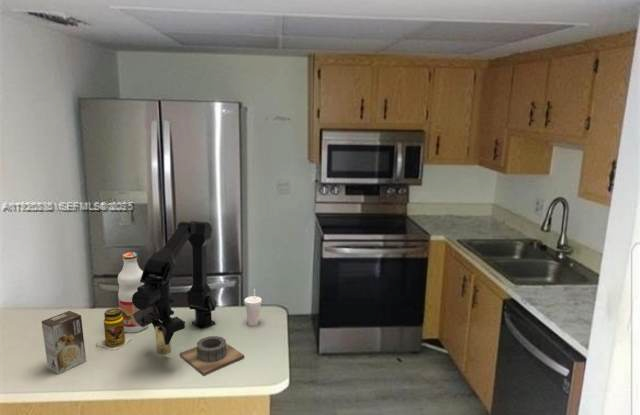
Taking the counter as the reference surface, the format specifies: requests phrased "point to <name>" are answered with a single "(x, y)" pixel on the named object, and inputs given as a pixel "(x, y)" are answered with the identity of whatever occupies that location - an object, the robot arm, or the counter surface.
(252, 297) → the smoothie
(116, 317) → the condiment
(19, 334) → the counter surface
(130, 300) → the fruit juice
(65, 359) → the coffee box
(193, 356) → the ring socket
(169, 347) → the brass pin
